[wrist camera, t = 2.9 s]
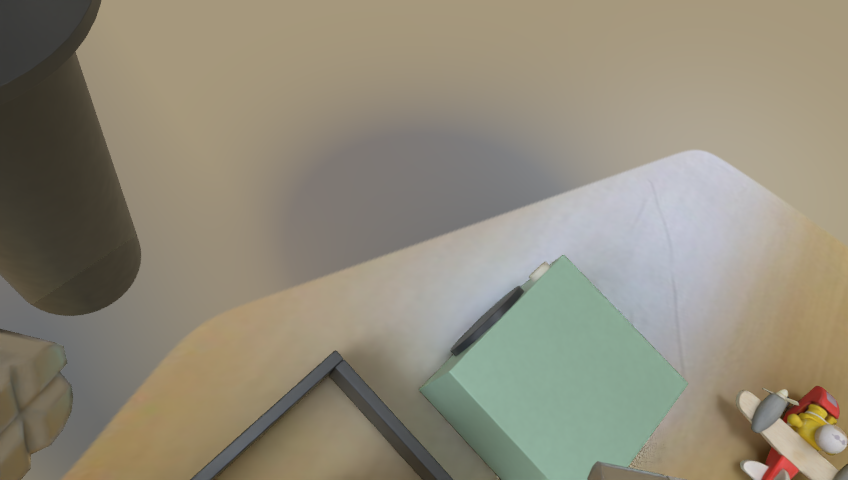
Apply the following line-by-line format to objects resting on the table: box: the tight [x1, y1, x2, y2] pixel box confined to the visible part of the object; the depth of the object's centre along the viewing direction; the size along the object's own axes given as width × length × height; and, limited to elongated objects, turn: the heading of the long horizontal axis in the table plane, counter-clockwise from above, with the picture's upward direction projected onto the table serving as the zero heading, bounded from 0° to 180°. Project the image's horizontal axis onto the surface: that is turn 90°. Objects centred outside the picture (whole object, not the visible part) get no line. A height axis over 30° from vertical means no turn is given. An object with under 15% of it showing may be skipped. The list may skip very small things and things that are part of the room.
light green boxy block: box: [419, 255, 688, 480], centre depth 45 cm, size 12×12×7 cm
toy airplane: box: [736, 386, 848, 480], centre depth 49 cm, size 9×9×6 cm
